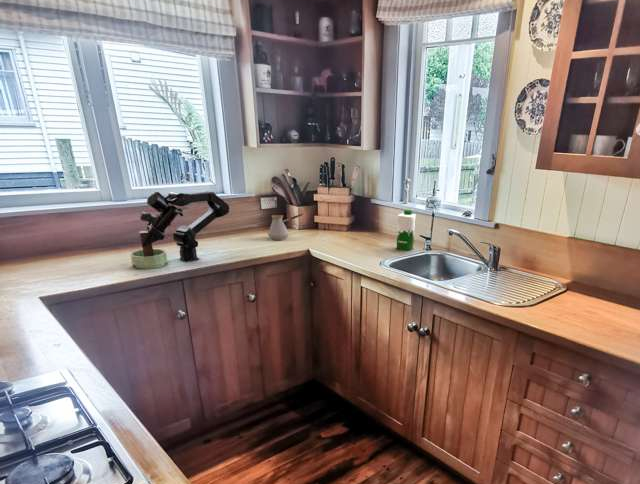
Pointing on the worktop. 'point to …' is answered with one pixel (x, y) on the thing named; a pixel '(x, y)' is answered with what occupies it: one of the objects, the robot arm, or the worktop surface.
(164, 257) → the bowl
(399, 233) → the milk carton
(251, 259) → the worktop surface
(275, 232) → the coffee pot
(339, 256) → the worktop surface
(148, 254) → the brown wooden block
